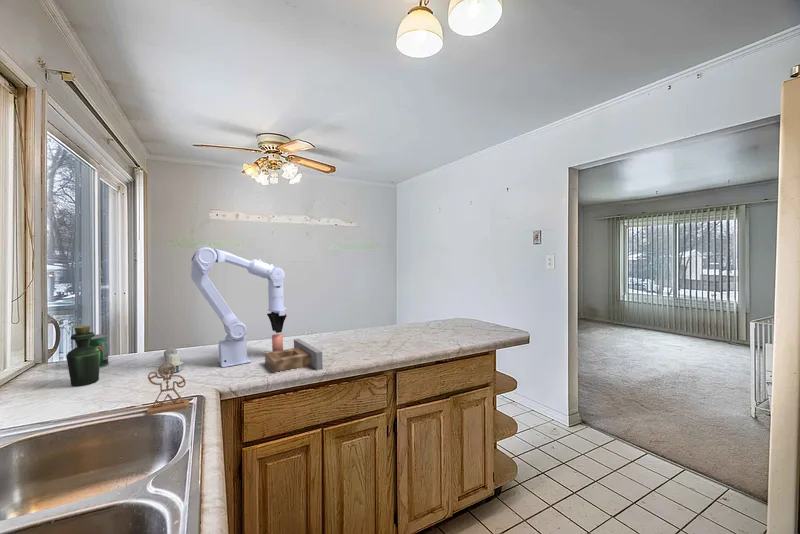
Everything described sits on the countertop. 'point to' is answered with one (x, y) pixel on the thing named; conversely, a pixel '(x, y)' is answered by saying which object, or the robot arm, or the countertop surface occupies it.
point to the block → (287, 359)
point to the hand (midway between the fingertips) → (277, 331)
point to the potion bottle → (83, 358)
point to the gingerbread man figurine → (167, 406)
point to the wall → (315, 353)
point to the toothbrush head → (172, 359)
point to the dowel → (277, 342)
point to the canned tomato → (101, 347)
